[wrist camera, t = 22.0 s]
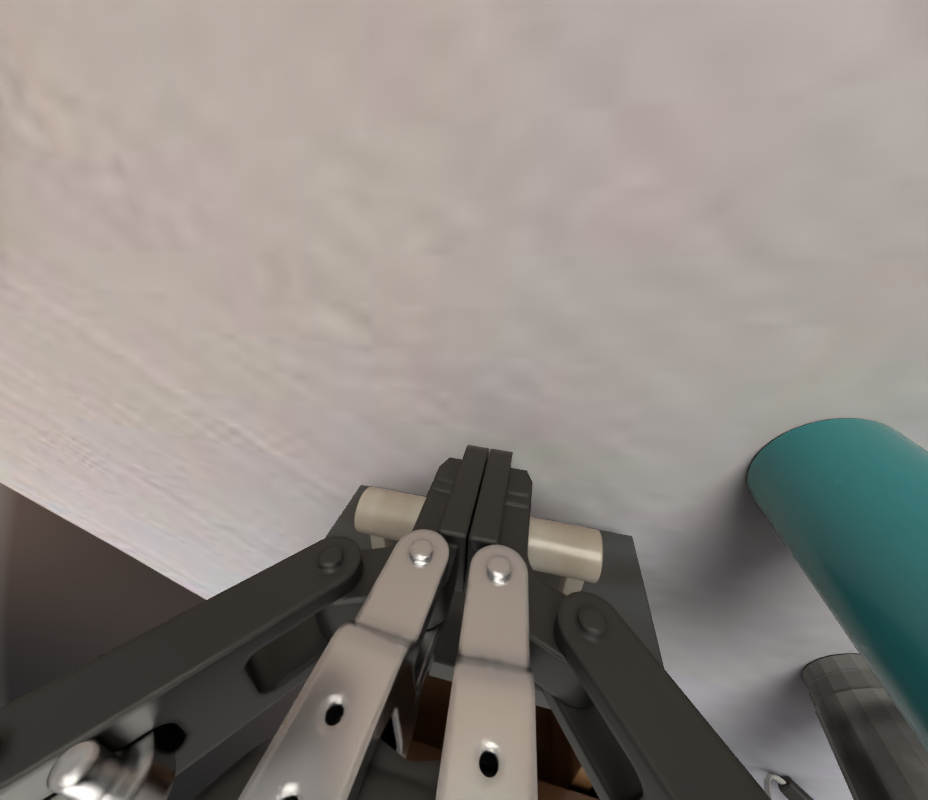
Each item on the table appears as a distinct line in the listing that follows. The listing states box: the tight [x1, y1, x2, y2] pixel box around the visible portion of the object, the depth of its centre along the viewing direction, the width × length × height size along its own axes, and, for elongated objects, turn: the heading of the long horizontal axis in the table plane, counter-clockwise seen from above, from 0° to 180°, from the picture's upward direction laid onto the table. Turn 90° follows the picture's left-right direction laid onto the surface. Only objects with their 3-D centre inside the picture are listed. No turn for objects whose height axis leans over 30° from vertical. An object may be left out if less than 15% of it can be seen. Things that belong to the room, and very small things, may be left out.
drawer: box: [326, 485, 664, 794], centre depth 17 cm, size 19×14×7 cm
